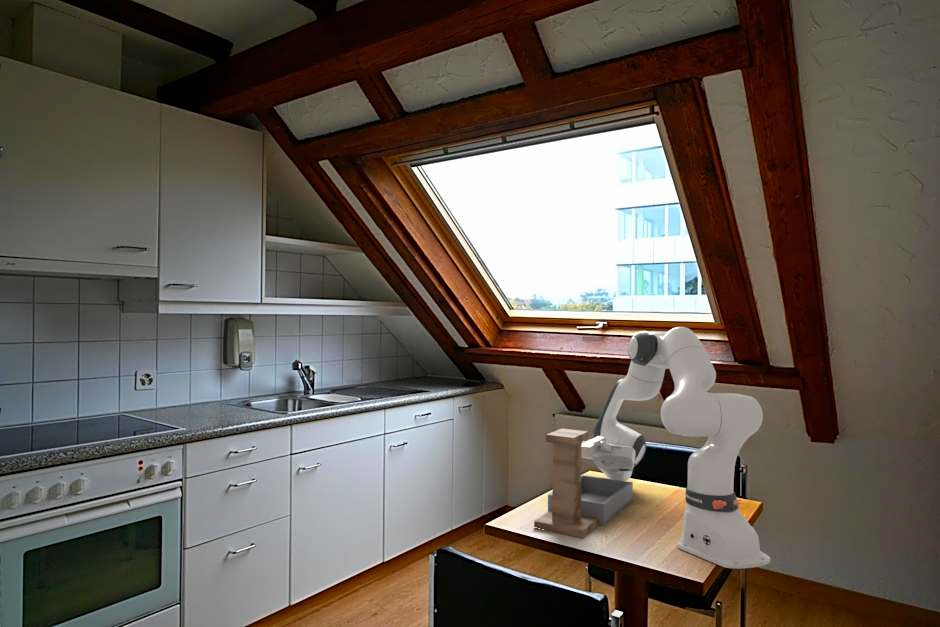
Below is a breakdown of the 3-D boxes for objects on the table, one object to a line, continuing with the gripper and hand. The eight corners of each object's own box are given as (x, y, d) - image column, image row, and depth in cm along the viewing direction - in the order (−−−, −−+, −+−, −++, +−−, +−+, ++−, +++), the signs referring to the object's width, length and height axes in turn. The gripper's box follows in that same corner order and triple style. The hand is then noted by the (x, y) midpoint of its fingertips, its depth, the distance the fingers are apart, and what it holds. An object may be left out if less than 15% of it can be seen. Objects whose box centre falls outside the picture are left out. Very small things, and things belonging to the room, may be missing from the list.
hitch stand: (551, 516, 184) (552, 427, 184) (598, 525, 177) (599, 432, 177) (534, 528, 174) (535, 433, 174) (582, 538, 167) (583, 439, 167)
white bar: (595, 445, 201) (595, 435, 201) (608, 446, 199) (608, 437, 199) (575, 455, 186) (575, 445, 186) (589, 457, 184) (589, 447, 184)
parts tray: (581, 492, 209) (581, 474, 208) (632, 501, 200) (632, 482, 200) (547, 515, 185) (548, 494, 185) (603, 525, 177) (604, 504, 177)
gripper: (579, 444, 212) (566, 429, 202) (640, 452, 201) (629, 437, 191) (575, 462, 209) (561, 448, 199) (637, 471, 199) (626, 457, 188)
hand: (595, 443), depth 195 cm, fingers closed on white bar, 2 cm apart
